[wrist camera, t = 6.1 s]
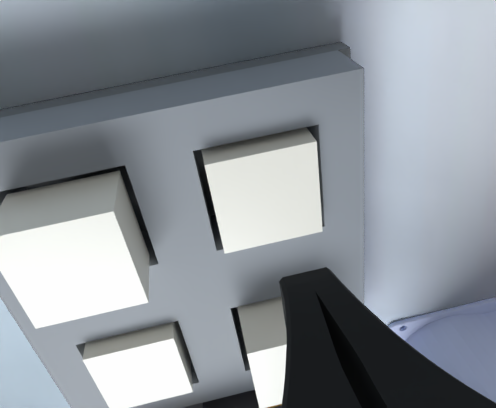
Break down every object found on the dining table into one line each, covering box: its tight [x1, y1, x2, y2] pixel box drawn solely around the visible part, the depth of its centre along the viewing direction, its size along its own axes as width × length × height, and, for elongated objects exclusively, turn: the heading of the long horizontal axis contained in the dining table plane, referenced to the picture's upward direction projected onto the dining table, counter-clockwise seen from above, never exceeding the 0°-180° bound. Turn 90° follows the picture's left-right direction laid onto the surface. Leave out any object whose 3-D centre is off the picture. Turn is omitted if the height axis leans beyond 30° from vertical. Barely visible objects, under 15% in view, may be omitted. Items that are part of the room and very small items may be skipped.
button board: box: [0, 42, 364, 408], centre depth 20 cm, size 16×18×6 cm
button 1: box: [0, 171, 150, 329], centre depth 16 cm, size 4×4×3 cm
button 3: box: [201, 127, 323, 254], centre depth 18 cm, size 4×4×3 cm
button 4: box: [237, 297, 287, 408], centre depth 21 cm, size 4×4×3 cm
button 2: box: [83, 321, 193, 408], centre depth 21 cm, size 4×4×3 cm
